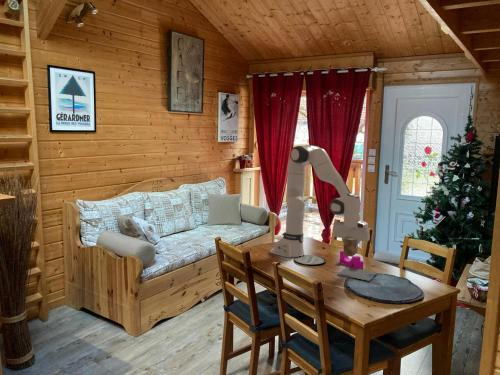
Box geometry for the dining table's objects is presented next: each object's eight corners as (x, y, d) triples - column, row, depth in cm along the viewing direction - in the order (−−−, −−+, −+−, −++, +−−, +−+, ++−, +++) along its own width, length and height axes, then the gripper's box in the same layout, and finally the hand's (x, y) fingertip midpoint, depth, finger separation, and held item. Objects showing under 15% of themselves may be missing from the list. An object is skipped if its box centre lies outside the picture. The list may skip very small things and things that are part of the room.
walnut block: (343, 255, 230) (343, 237, 228) (348, 251, 237) (349, 234, 236) (352, 256, 227) (352, 238, 226) (357, 252, 234) (358, 235, 233)
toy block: (363, 268, 242) (363, 256, 241) (354, 269, 240) (355, 257, 239) (347, 261, 256) (348, 249, 255) (339, 262, 253) (340, 250, 253)
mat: (337, 275, 229) (337, 273, 229) (347, 268, 242) (347, 266, 242) (369, 282, 219) (369, 280, 219) (377, 274, 232) (377, 272, 232)
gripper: (332, 221, 233) (331, 245, 234) (367, 226, 222) (366, 250, 223) (336, 219, 238) (335, 242, 240) (371, 224, 227) (370, 248, 229)
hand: (350, 246), depth 231 cm, fingers closed on walnut block, 5 cm apart
